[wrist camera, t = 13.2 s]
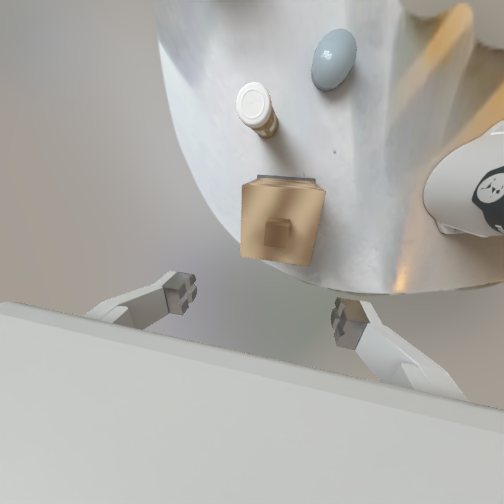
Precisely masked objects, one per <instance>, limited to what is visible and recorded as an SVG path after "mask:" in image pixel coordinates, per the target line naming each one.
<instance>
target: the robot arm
mask: <svg viewBox="0 0 504 504" xmlns="http://www.w3.org/2000/svg"><path fill="white" fill-rule="evenodd" d="M423 199H424V205H425V207H426V209H427V211H428V212H429V213H430V214H431V215H432V216H433V217H434V218H435V219H436V221H437V225H438V229H439V231H440V232H441V233H444V234H463V233H470V234H473V235H476V236H479V237H485V238H486V237H488V236H503V235H504V120H502V121H500V122H499V123H497V124H496V125H494V126H493V127H492V128H490V129H489V130H488V131H487V132H486V133H484V134H483V135H482V136H481V137H479V138H477V139H475V140H473V141H471V142H469V143H467V144H465V145H463V146H461V147H459V148H458V149H456V150H455V151H453V152H452V153H450V154H449V155H448V156H447V157H445V158H444V159H443V160H442V161H441V162H440V163H439V164H438V165H437V166H436V168H435V169H434V170H433V172H432V173H431V175H430V176H429V178H428V180H427V182H426V185H425V188H424V194H423ZM454 228H455V229H454ZM195 281H196V278H195V275H193V274H188V273H182V272H177V271H169V272H168V273H166V274H165V275H164V276H163V277H162V278H161V279H159V280H158V281H157V282H156V283H155V284H153V285H149V286H146V287H143V288H140V289H138V290H135V291H132V292H129V293H126V294H123V295H120V296H117V297H114V298H112V299H109V300H106V301H103V302H102V303H100V304H99V305H98V306H96V307H95V308H93V309H92V310H91V311H89V312H88V313H87V314H85V315H84V316H77V315H73V314H68V313H63V312H59V311H55V310H50V309H46V308H41V307H36V306H32V305H28V304H24V303H19V302H2V303H0V504H504V410H503V409H498V408H494V407H489V406H485V405H480V404H476V403H471V402H469V401H468V400H467V399H466V397H465V396H464V394H463V393H462V392H461V391H460V389H459V388H458V386H457V385H456V384H455V383H454V381H453V380H452V378H451V377H450V376H449V374H448V373H447V372H446V371H445V370H444V369H443V368H442V367H440V366H439V365H438V364H436V363H435V362H434V361H432V360H431V359H430V358H428V357H427V356H426V355H424V354H423V353H422V352H420V351H419V350H418V349H416V348H415V347H414V346H412V345H411V344H410V343H408V342H407V341H406V340H404V339H403V338H402V337H400V336H399V335H398V334H396V333H395V332H394V331H392V330H391V329H390V328H388V327H387V326H383V324H382V322H381V321H380V319H379V317H378V315H377V314H376V312H375V310H374V308H373V307H372V305H371V303H370V302H368V301H361V300H351V299H344V298H337V299H336V301H335V306H336V308H334V309H333V311H332V314H331V324H332V328H333V329H334V330H335V333H334V337H335V341H336V345H337V346H339V347H344V348H349V349H353V350H355V351H356V353H357V354H358V355H359V356H360V357H361V359H362V360H363V361H364V362H365V364H366V365H367V366H368V367H369V368H370V370H371V371H372V372H373V373H374V375H375V376H376V377H377V378H378V379H379V381H380V382H376V381H372V380H367V379H362V378H358V377H354V376H349V375H345V374H340V373H335V372H331V371H326V370H322V369H317V368H313V367H308V366H303V365H299V364H295V363H290V362H285V361H281V360H276V359H272V358H268V357H263V356H258V355H254V354H250V353H245V352H241V351H236V350H232V349H227V348H222V347H218V346H213V345H209V344H204V343H199V342H195V341H190V340H186V339H181V338H177V337H172V336H168V335H163V334H159V333H154V332H150V331H145V330H143V329H145V328H146V327H148V326H150V325H151V324H153V323H155V322H156V321H158V320H159V319H161V318H163V317H164V316H166V315H168V314H169V313H172V314H178V315H183V314H184V313H185V311H186V310H187V309H188V307H189V306H188V304H189V303H191V302H193V300H194V299H195V297H196V294H197V287H196V285H195V284H194V282H195Z"/></svg>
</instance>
